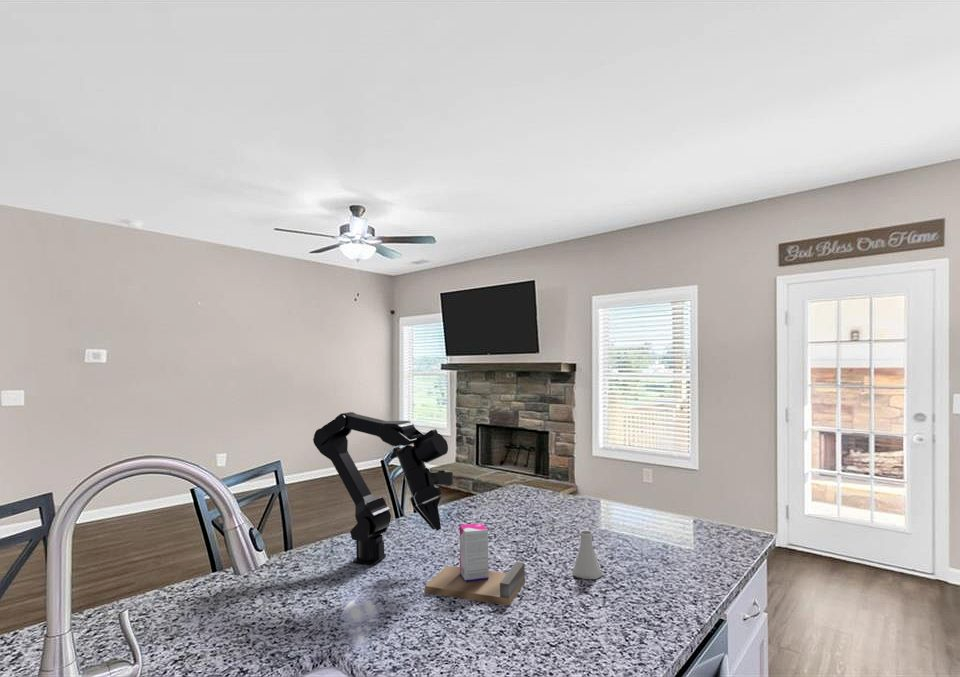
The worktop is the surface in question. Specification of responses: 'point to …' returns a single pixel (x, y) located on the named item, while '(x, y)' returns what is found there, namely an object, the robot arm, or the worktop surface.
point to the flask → (586, 558)
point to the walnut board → (479, 585)
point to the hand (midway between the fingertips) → (436, 529)
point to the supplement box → (474, 552)
